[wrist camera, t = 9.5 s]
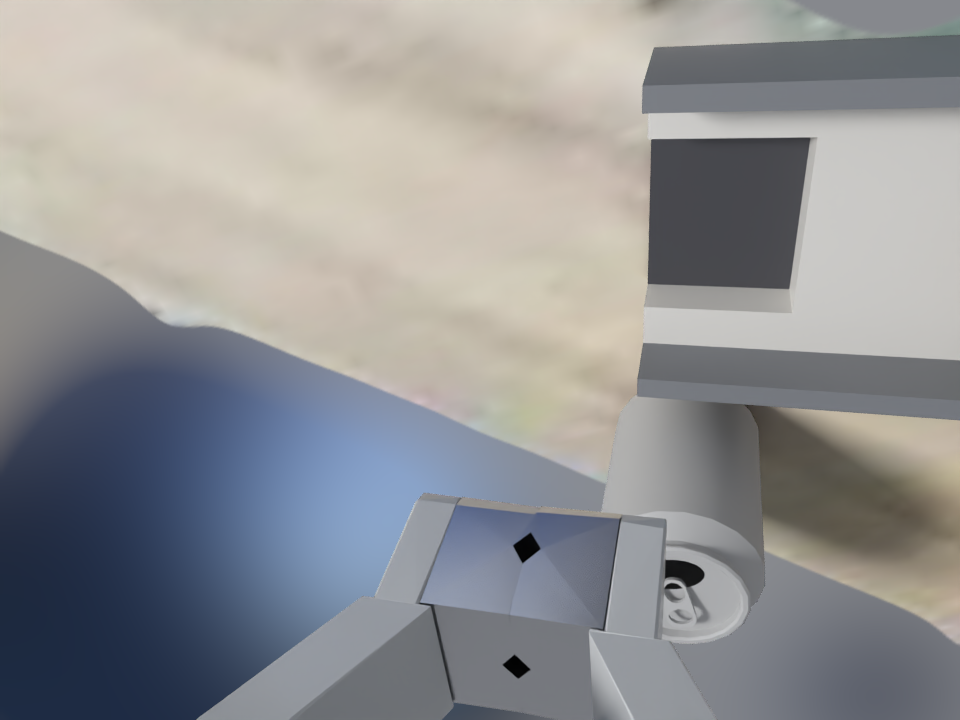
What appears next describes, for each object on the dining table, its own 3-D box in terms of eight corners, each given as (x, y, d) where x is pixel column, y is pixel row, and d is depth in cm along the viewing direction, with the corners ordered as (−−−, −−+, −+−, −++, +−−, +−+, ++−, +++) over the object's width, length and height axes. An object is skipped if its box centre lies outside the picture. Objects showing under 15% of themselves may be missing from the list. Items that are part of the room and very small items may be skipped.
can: (743, 360, 40) (748, 534, 30) (770, 469, 43) (782, 656, 34) (601, 382, 43) (565, 547, 33) (637, 483, 46) (614, 658, 37)
